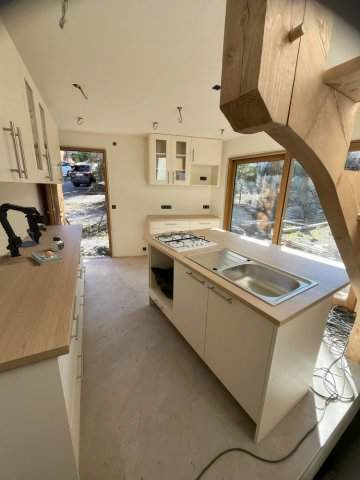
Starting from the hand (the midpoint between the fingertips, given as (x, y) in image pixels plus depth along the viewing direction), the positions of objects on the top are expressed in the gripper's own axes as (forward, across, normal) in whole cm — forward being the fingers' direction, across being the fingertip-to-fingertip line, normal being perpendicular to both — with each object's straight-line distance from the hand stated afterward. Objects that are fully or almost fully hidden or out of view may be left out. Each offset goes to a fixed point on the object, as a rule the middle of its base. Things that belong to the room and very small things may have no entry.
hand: (35, 242), depth 164 cm
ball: (+9, -8, -6) cm, 13 cm away
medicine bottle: (+12, +9, -18) cm, 24 cm away
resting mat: (+12, -8, -6) cm, 16 cm away
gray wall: (+12, -9, +3) cm, 15 cm away
